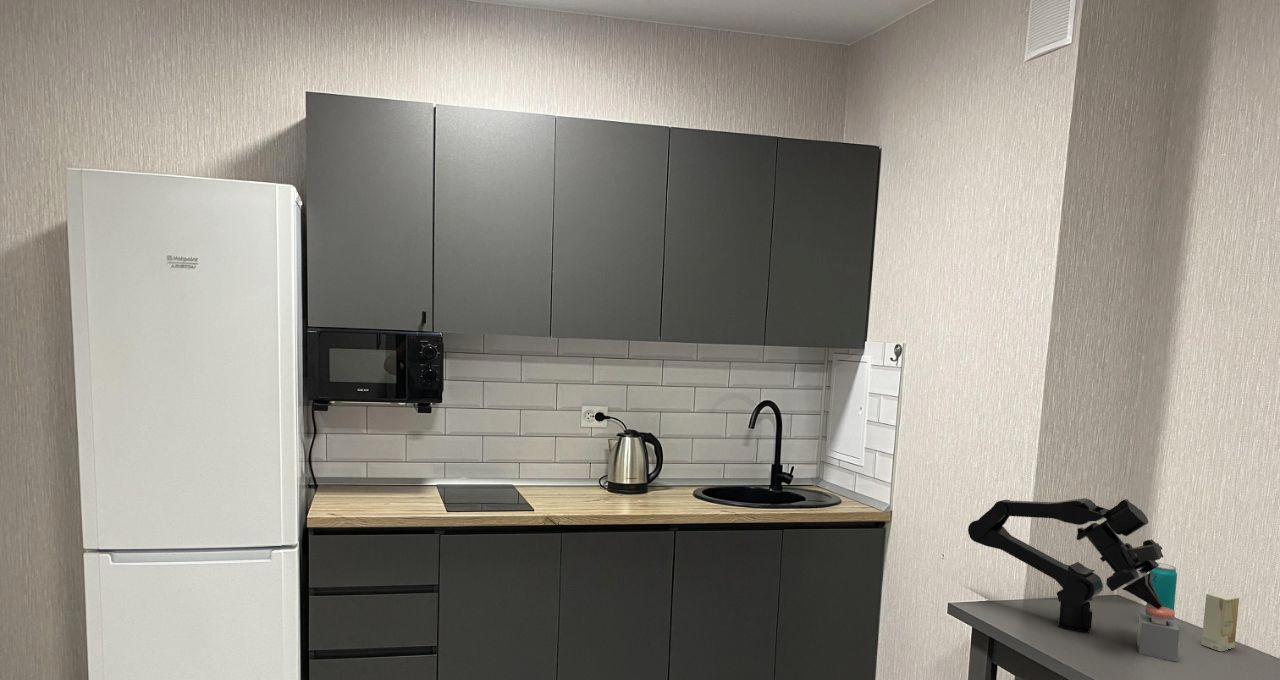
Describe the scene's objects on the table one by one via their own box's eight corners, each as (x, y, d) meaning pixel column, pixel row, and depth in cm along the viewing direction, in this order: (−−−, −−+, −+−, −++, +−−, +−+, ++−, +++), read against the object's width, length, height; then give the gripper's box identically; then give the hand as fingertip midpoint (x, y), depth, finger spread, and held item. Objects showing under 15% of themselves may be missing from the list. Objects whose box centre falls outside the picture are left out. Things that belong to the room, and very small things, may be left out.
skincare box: (1220, 652, 183) (1225, 599, 183) (1200, 645, 187) (1204, 593, 187) (1235, 648, 186) (1240, 597, 186) (1215, 641, 190) (1219, 590, 190)
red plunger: (1143, 642, 180) (1146, 609, 179) (1141, 634, 184) (1144, 602, 184) (1173, 649, 177) (1176, 615, 177) (1170, 640, 182) (1173, 608, 182)
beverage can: (1164, 622, 202) (1169, 563, 201) (1177, 630, 196) (1182, 570, 196) (1140, 619, 202) (1145, 561, 202) (1152, 628, 196) (1158, 567, 196)
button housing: (1139, 653, 179) (1142, 622, 179) (1136, 643, 185) (1139, 613, 185) (1176, 661, 176) (1179, 630, 176) (1172, 651, 182) (1175, 620, 182)
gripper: (1126, 533, 178) (1180, 598, 170) (1152, 523, 190) (1203, 583, 182) (1085, 559, 184) (1135, 622, 176) (1112, 547, 196) (1160, 606, 188)
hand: (1160, 607), depth 181 cm, fingers closed, pressing on red plunger
